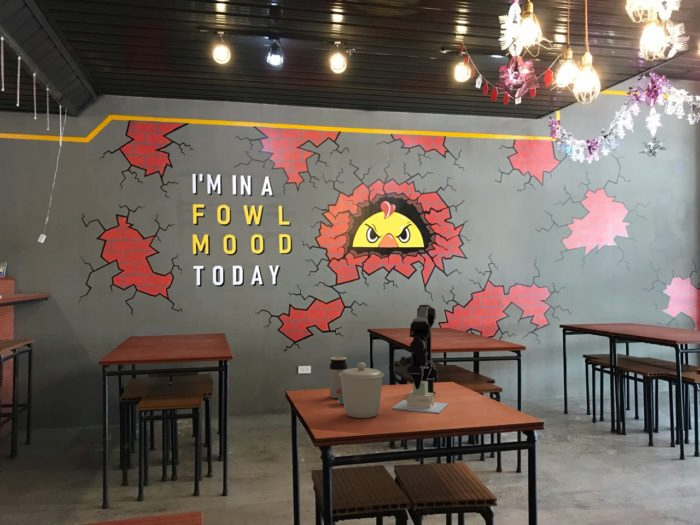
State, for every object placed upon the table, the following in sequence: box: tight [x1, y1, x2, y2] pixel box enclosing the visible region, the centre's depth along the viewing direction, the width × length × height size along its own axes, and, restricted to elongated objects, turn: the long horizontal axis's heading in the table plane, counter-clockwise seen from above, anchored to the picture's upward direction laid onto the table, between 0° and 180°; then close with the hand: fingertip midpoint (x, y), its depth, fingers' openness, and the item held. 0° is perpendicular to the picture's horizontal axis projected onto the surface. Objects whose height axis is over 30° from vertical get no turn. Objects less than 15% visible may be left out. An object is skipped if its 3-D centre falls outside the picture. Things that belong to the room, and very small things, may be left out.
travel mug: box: [329, 356, 348, 399], centre depth 254 cm, size 8×8×18 cm
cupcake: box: [336, 387, 344, 405], centre depth 242 cm, size 9×8×12 cm
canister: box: [339, 361, 385, 419], centre depth 222 cm, size 18×18×21 cm
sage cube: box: [412, 381, 428, 395], centre depth 235 cm, size 5×5×5 cm
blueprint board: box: [391, 399, 449, 414], centre depth 235 cm, size 16×20×1 cm
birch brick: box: [406, 391, 435, 408], centre depth 235 cm, size 6×10×5 cm, turn 69°
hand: (420, 387), depth 235 cm, fingers open, 9 cm apart
